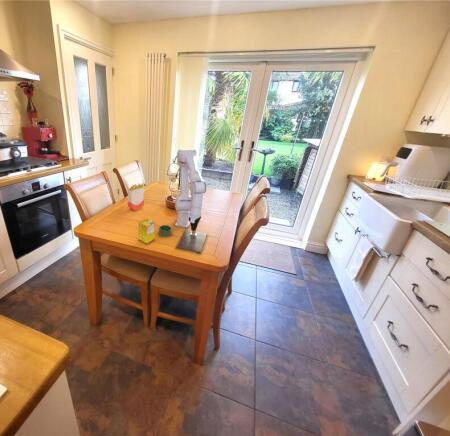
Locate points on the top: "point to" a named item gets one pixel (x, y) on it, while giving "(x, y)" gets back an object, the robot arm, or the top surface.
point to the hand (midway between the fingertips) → (193, 229)
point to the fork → (193, 235)
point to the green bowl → (165, 230)
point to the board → (192, 242)
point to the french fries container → (136, 197)
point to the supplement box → (146, 231)
